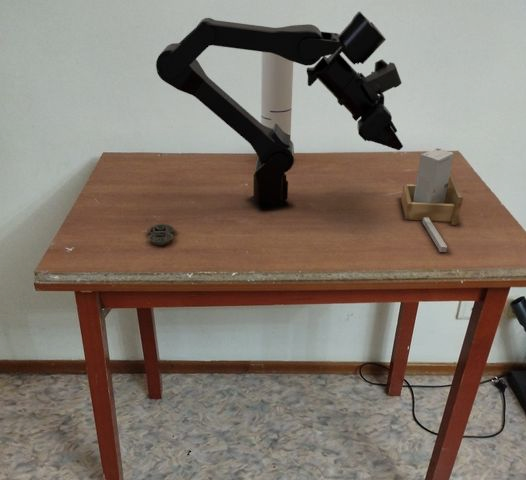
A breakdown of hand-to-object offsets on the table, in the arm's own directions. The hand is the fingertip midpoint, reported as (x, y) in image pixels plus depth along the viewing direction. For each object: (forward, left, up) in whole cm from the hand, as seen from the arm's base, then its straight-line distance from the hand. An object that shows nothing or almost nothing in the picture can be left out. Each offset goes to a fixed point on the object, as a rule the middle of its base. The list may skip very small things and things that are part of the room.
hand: (398, 140), depth 118 cm
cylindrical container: (-11, +34, -14) cm, 38 cm away
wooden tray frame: (+6, -5, -14) cm, 16 cm away
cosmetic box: (+6, -5, -14) cm, 16 cm away
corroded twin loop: (-49, +6, -14) cm, 51 cm away
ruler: (0, -15, -14) cm, 21 cm away
